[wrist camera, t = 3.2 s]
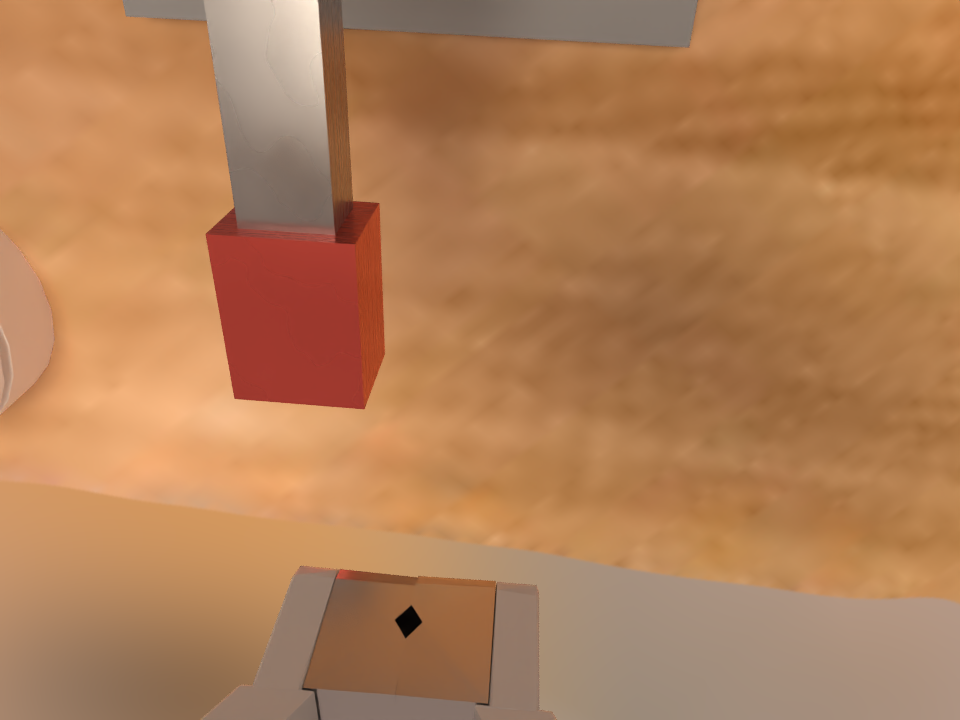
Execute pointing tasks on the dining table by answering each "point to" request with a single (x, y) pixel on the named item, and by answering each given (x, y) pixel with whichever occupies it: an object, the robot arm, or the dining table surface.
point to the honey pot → (21, 325)
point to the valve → (495, 18)
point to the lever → (292, 210)
